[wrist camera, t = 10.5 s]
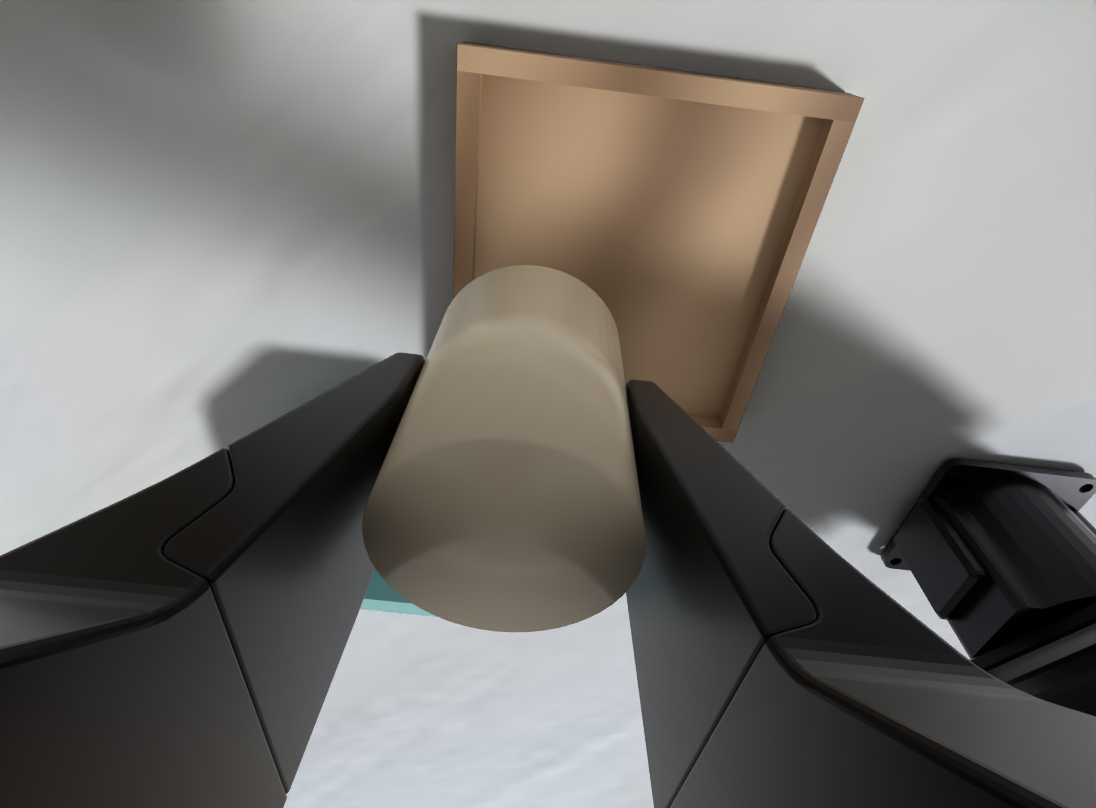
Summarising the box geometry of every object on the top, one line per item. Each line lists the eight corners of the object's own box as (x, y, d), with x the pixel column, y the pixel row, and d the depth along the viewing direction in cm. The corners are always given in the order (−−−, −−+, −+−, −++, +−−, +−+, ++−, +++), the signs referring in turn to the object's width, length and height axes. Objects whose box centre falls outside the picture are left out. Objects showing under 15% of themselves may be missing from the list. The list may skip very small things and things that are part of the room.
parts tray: (846, 92, 16) (864, 98, 15) (726, 424, 23) (732, 442, 22) (464, 42, 16) (457, 44, 15) (456, 393, 23) (451, 410, 22)
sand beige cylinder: (636, 277, 9) (677, 457, 6) (603, 431, 11) (616, 643, 7) (439, 254, 9) (349, 421, 6) (439, 412, 11) (371, 618, 7)
